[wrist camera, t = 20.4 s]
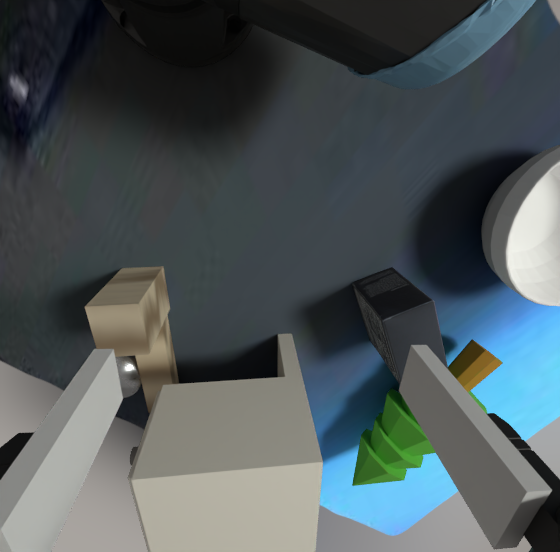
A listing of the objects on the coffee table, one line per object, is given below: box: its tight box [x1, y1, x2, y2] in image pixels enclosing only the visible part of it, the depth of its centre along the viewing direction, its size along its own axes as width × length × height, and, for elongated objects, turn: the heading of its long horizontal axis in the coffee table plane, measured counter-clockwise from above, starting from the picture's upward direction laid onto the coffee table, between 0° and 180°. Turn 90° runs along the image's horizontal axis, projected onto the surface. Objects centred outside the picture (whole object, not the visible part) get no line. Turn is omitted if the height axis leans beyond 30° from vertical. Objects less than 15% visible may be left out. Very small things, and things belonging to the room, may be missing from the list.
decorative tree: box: [352, 340, 502, 486], centre depth 48 cm, size 11×12×30 cm
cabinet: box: [128, 333, 323, 552], centre depth 38 cm, size 14×18×20 cm
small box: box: [352, 268, 448, 384], centre depth 41 cm, size 11×6×10 cm, turn 21°
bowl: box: [481, 145, 560, 306], centre depth 38 cm, size 19×19×9 cm
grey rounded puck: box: [115, 355, 142, 398], centre depth 44 cm, size 6×6×3 cm
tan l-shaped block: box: [85, 266, 179, 413], centre depth 39 cm, size 21×5×10 cm, turn 1°
